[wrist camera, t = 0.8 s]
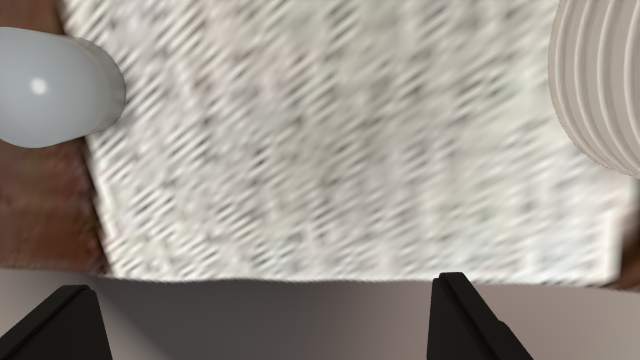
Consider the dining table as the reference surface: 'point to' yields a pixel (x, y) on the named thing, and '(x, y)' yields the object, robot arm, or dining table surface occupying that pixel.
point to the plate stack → (598, 79)
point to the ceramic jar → (55, 88)
